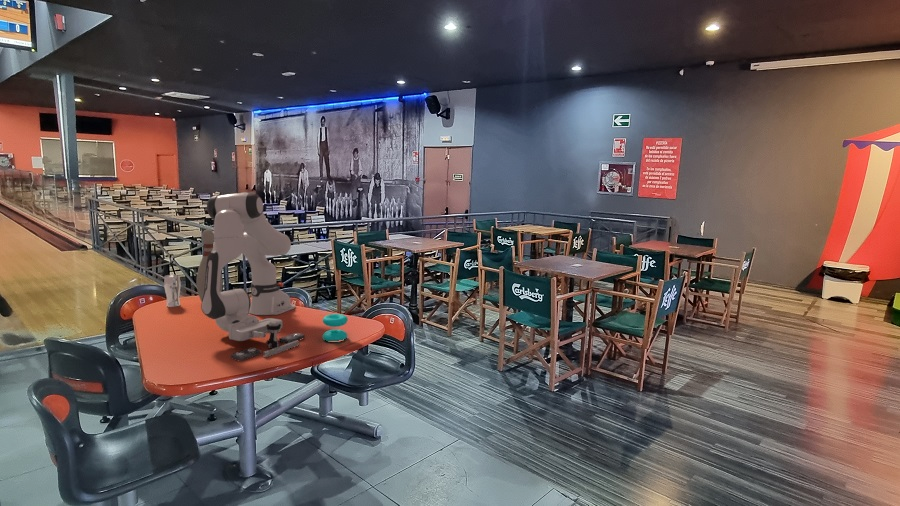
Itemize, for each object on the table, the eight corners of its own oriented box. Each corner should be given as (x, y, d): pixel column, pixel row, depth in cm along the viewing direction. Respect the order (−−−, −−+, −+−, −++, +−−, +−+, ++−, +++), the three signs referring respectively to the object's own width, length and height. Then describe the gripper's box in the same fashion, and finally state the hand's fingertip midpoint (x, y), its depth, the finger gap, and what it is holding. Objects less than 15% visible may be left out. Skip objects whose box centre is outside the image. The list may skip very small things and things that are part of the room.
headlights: (296, 336, 202) (296, 331, 201) (312, 340, 197) (312, 336, 197) (230, 358, 175) (230, 353, 175) (248, 364, 170) (248, 358, 170)
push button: (260, 346, 187) (261, 321, 187) (273, 344, 192) (274, 319, 191) (270, 350, 183) (271, 324, 183) (282, 347, 188) (283, 322, 187)
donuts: (318, 318, 195) (329, 312, 204) (318, 342, 196) (329, 334, 206) (341, 321, 192) (351, 314, 202) (340, 344, 194) (351, 337, 204)
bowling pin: (192, 305, 240) (189, 229, 234) (207, 300, 251) (205, 227, 245) (212, 307, 238) (210, 231, 232) (227, 301, 249) (225, 228, 243)
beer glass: (174, 308, 234) (172, 277, 232) (161, 306, 235) (160, 276, 233) (184, 304, 241) (183, 275, 238) (172, 303, 242) (171, 274, 240)
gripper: (269, 327, 202) (292, 333, 195) (225, 340, 184) (249, 348, 178) (269, 312, 201) (292, 318, 194) (225, 324, 183) (249, 331, 177)
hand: (271, 332), depth 186 cm, fingers open, 5 cm apart
